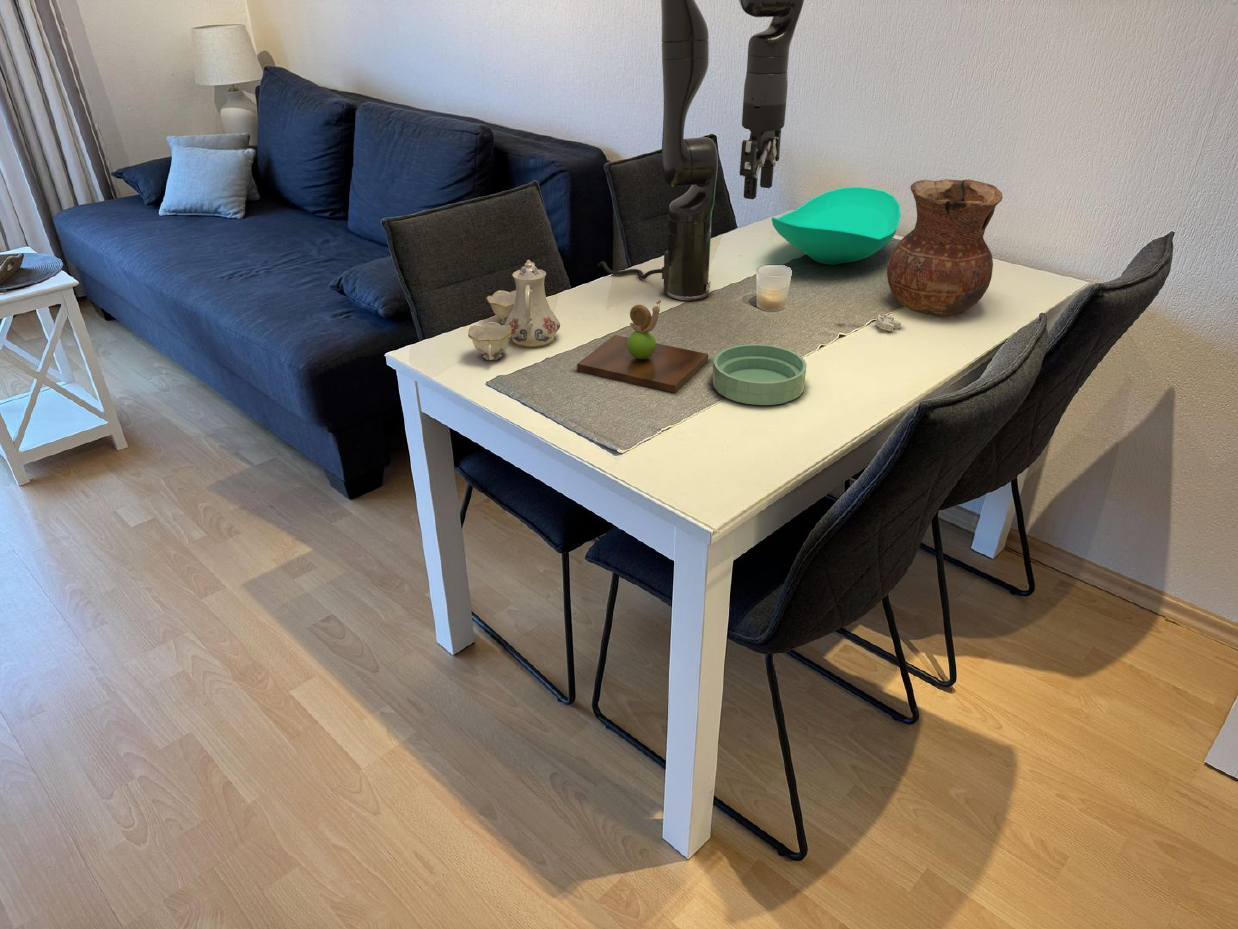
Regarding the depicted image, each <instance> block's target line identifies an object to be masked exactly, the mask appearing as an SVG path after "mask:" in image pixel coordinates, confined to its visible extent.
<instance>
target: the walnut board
mask: <svg viewBox="0 0 1238 929" xmlns="http://www.w3.org/2000/svg"><path fill="white" fill-rule="evenodd" d="M628 338H629V336H623V335H618V334H614V335H613V336H611V337H610V338H609V339H607V340H606V341H605V342H604V343H602V344H601V345H600V346H599V347H597V348H595V349H594V350H593V351H592V352H590V353H589V354H588V355H587V356H585V357H584V358H582V359H581V360H580V361H579V362H577V363H576V368H577V369H576V370H577V372H581V373H585V374H590V375H594V376H599V377H602V378H608V379H613V380H617V381H620V382H626V383H630V384H634V385H638V386H642V387H647V388H651V389H656V390H660V391H663V392H669V393H673V394H676V393H677V392H678V391H679V390H680V388H682V387H683V386H684V385H685V384H686V383H687V382H688V381H689V380H690V379H691V378H693V376H694V375H695V374H697V372H699V371H700V370H701V368H703V367H704V365H706V364H707V363H708V362H709V353H706V352H701V351H696V350H691V349H687V348H682V347H677V346H671V345H666V344H662V343H657V342H656V349H655V352H654V353H653V354H652V355H651V356H650V357H649V358H646V359H637V358H635V357H633V356H632V355H631V354H630V353H629V351H628V348H627V341H628Z"/></svg>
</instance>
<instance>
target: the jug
mask: <svg viewBox="0 0 1238 929" xmlns="http://www.w3.org/2000/svg"><path fill="white" fill-rule="evenodd" d="M910 191H911V193H912V195H913V198H914V201H915V207H916V209H915V210H916V221H915V225H914V228H913V229H912V230H911V231H909V232H908V233H907V234H906V235H905V236H903V238H900V240H899V241H898V243H897V244H896V245H895V246H894V248H893V250H892V252H891V254H890V257H889V260H888V262H887V269H886V277H887V283H888V286H889V289H890V291H891V293H892V295H893V297H894V298H895V299H896V300H897V301H898V302H899V304H900V305H902V306H903V307H904V308H906V309H908V310H910V311H912V312H916V313H918V314H919V313H920V314H923V315H927V316H933V317H952V316H957V315H960V314H963V313H964V312H966V311H968V310H970V309H971V308H972V307H974V306H975V305H976V304H977V303H978V302H979V301H981V299H982V298H983V297H984V295H985V294H986V292H987V290H988V288H989V286H990V285H991V281H992V278H993V277H992V276H993V270H994V260H993V254H992V252H991V250H990V248H989V246H988V244H987V243H986V241H985V239H984V236H985V232H986V228H987V227H988V226H989V223H990V221H991V220H992V218H993V216H994V213H995V210H996V207H997V206H998V205H999V204H1000V203H1001V202H1002V200H1003V197H1004V196H1003V192H1002V191H1001V190H1000V189H998V187H997V186H995V185H994V184H991V183H986V182H983V181H978V180H974V179H969V178H968V179H967V178H966V179H961V180H960V179H947V178H945V179H944V178H943V179H940V180H932V179H921V180H917V181H915V182H913V183H912V184H911V185H910Z"/></svg>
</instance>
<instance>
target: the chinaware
mask: <svg viewBox="0 0 1238 929" xmlns="http://www.w3.org/2000/svg"><path fill="white" fill-rule="evenodd" d="M535 265H536V264H535V262H533V261H531V260H530V259H527V260H526V262H525V263H524V266H521V268H520V269H518V270H516V271H514V272H513V273H512V277H513V280H514V283H515V290H511V291H507V290H504V289H503V290H497V291H495V292H494V293H493V294H492V295H487V296H486V297H485V299H486V302H488V304H489V305H490V308H491V310H492V312H493V313H494V314H495V316H496V317H497V318H499V319H501V324H500V323H499V322H496V321H488V322H484V323H483V324H481V325H472V326H470V327H469V328H468V334H467V338H468V339H469V340H471V341H472V344H473V347H474V348H475V349H476V350H477V351H478V352H479V353H480V354H483V355H482V357H483V358H484V359H485V360H487V361H495V360H498V359H500V358H502V357H503V355H502V354H501V353H503V352H504V351H505V350H506V349H507V348H508V346H509V343H510V338H511V342H513V344H514V345H516V346H519V347H523V348H541V347H544V346H548V345H550V344H552V343H553V342H554V341H555V335H556V334H557V332H558V331H560V328H561V323H560V321H559V319H558V318H557V316H556V315H555V314H554V312H553V310H552V308H551V307H550V305H549V302H548V299H547V296H546V290H545V279H546V276H547V272H546V271H545V270H543V269H540V268H537V266H535Z"/></svg>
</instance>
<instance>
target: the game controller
mask: <svg viewBox="0 0 1238 929" xmlns="http://www.w3.org/2000/svg"><path fill="white" fill-rule="evenodd" d="M861 322H863V320H862V321H860V323H861ZM845 323H846V321H845V322H842V324H845ZM847 323H849V324H850V322H848V321H847ZM870 323H872V324H874V322H873V321H870ZM875 324H876V326H877V327H878V328H879V329H881V330H884V331H888V332H893V330H894V329H895V330H897V329H898V330H900V328H901V325H902V322H901V321H898V320H896V319H895V318H894V317H893V316H892V315H890V314H884V313H879V314H878V315H877V317H876V320H875Z"/></svg>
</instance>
